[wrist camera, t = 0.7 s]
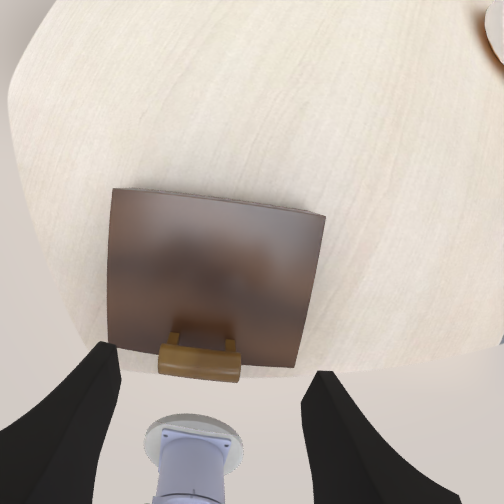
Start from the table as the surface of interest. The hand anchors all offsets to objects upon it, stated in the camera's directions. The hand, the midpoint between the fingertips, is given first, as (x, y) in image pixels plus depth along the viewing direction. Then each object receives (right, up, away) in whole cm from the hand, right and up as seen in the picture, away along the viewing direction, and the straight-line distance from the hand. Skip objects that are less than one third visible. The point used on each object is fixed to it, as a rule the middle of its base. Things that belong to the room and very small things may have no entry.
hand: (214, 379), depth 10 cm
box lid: (-2, +2, +11) cm, 11 cm away
